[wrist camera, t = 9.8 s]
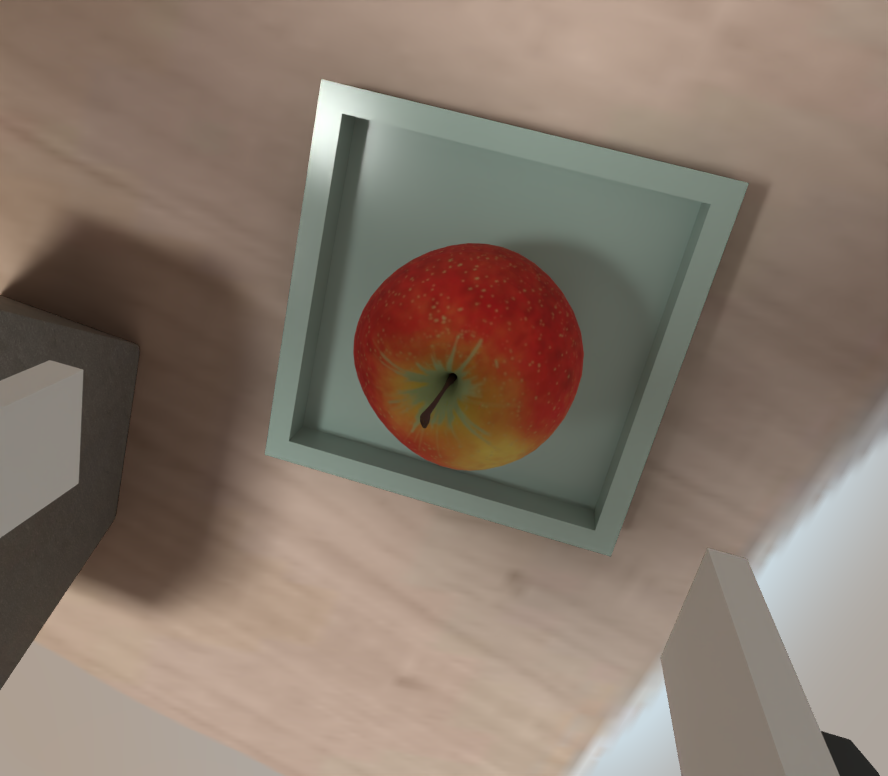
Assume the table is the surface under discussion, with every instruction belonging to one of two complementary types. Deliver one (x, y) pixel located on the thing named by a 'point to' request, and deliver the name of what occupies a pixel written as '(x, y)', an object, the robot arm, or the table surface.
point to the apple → (469, 356)
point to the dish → (531, 235)
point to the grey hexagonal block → (100, 468)
